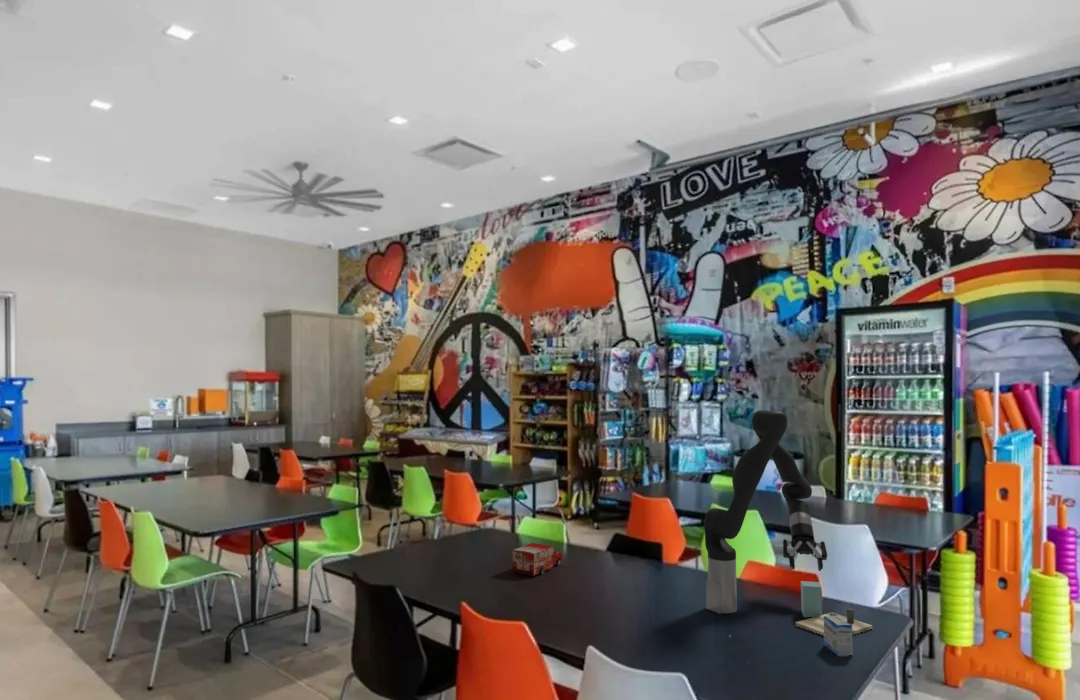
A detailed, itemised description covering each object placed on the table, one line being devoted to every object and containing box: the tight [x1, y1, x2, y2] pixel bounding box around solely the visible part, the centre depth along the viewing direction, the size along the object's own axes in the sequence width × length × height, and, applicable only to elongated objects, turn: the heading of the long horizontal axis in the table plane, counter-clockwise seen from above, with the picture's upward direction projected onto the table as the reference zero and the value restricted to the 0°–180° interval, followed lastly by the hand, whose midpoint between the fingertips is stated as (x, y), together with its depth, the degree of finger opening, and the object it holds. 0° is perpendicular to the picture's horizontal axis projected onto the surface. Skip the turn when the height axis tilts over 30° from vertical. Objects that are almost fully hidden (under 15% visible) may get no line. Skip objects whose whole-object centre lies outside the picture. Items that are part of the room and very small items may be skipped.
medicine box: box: [823, 616, 854, 657], centre depth 190 cm, size 8×4×9 cm, turn 5°
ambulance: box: [511, 542, 563, 577], centre depth 273 cm, size 11×25×10 cm, turn 148°
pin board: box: [795, 608, 873, 637], centre depth 207 cm, size 18×14×5 cm
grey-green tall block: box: [800, 580, 823, 618], centre depth 219 cm, size 6×6×10 cm
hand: (806, 568), depth 228 cm, fingers open, 8 cm apart
